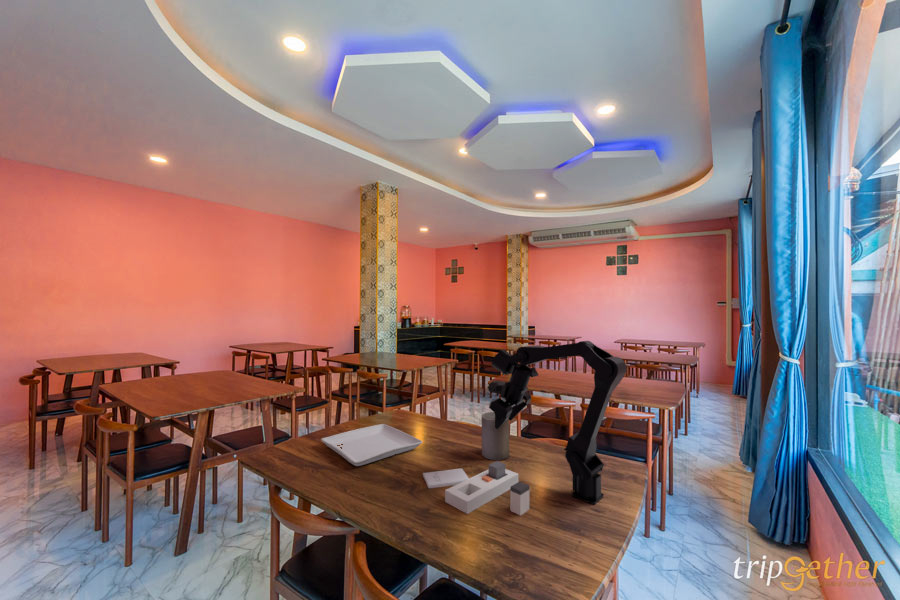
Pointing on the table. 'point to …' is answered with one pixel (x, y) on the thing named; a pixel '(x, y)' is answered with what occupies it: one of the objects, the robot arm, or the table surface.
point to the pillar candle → (494, 438)
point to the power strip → (479, 490)
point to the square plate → (371, 443)
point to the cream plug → (519, 498)
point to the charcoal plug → (497, 470)
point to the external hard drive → (445, 478)
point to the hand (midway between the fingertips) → (503, 424)
